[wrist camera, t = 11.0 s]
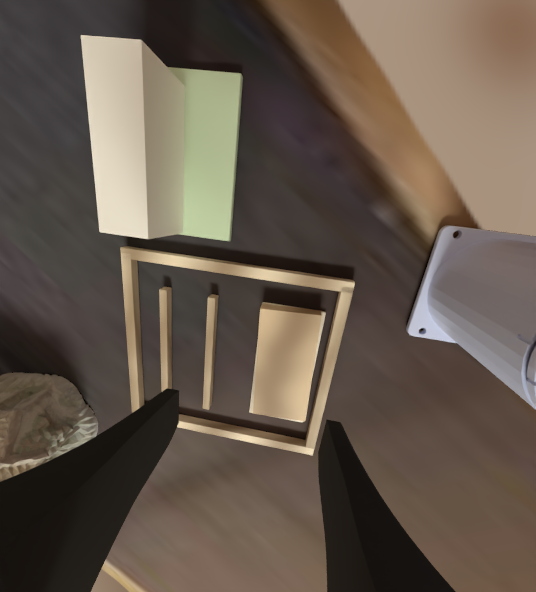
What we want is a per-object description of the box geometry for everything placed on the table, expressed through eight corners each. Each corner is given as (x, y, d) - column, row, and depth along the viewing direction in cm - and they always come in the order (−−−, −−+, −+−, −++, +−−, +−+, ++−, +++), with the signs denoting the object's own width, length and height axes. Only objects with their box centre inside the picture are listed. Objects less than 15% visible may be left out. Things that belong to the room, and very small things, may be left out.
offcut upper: (320, 310, 20) (321, 315, 19) (305, 412, 23) (305, 421, 22) (262, 303, 20) (260, 308, 19) (254, 405, 23) (252, 413, 22)
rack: (353, 279, 19) (355, 282, 18) (312, 447, 24) (312, 455, 23) (127, 246, 20) (120, 247, 19) (137, 411, 26) (132, 417, 25)
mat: (242, 77, 16) (241, 73, 15) (231, 240, 19) (229, 241, 18) (93, 64, 16) (87, 60, 16) (106, 222, 20) (101, 223, 19)
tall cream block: (184, 85, 16) (141, 39, 12) (183, 232, 19) (148, 239, 14) (139, 81, 16) (80, 35, 12) (145, 227, 19) (99, 232, 15)
